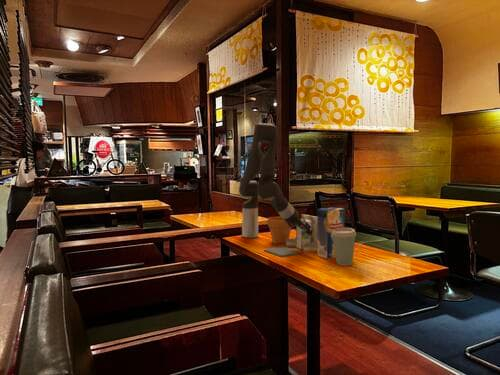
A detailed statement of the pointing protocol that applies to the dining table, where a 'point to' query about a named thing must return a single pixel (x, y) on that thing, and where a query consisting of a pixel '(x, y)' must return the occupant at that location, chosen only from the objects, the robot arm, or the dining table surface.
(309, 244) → the cubby
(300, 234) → the syrup box
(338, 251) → the disposable coffee cup
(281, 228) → the flower pot
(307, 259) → the dining table surface
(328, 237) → the beverage box
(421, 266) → the dining table surface
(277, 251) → the mat
